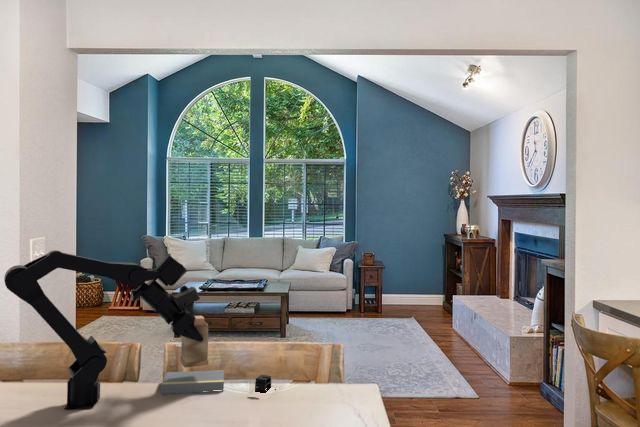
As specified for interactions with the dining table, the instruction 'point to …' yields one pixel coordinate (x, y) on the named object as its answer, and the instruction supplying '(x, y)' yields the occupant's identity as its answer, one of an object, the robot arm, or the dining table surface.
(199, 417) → the dining table surface
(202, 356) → the open wooden bin
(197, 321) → the block
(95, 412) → the dining table surface
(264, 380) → the black slotted stand
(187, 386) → the dock
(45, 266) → the robot arm
